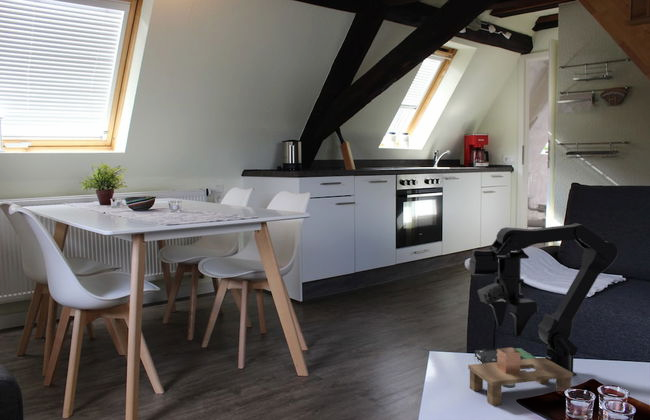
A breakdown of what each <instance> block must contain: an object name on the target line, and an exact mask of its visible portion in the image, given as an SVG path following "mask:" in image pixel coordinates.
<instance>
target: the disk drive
mask: <svg viewBox="0 0 650 420" xmlns="http://www.w3.org/2000/svg"><path fill="white" fill-rule="evenodd" d="M513 348H514V349H515V350H517V351H519V352H521V353H520V360H523V359H533V358H537V357H536V356H535V355H533V354H531V353H530V352H527V351H525V350H524V349H523V347H522V348H521V347H520V348H519V347H518V348H515V347H513ZM498 349H499V348H495V349H494V348H493V349H492V348H490V349H477V350H474V358H475V357H477V359H478V360H477V359H476V360H477V361H479V360H480V361H481V362H482V363H492V362H497V351H498ZM480 361H479V362H480ZM481 362H480V363H481ZM482 363H481V364H482Z"/></svg>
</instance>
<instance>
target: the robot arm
mask: <svg viewBox="0 0 650 420" xmlns="http://www.w3.org/2000/svg"><path fill="white" fill-rule="evenodd" d="M573 240H574V241H575V242H576V243H577V244H578V245H579V246H580V247H581V248H583V249H584V250H583V253H582V256H581V257H582V258H581V266H580V269H579V270H578V272H577V274H576V276H575V277H574V279H573V281H572V282H571V285H570V286H569V288H568V289H567V291H566V293H565V295H564V297H563V299H562V300H561V302H560V304H559V306H558V307H557V309H556V310H555V312H553V313H552V314H551V315H549V314H548V313H545V314H544V315H543V318H542V321H541V322H540V323H539V324H537V327H539V328H538V331H537V332H538V333H537V334H538V336H539V339H540V340H541V341H543V342H544V345H545V347H547V348H549V349H546V355H545V357H544V358H546V359H548V360H550V361H552V362H553V363H555V364H557V365H559V366H561V367H563V368H564V369H566V370H568V371H570V372H572V373H573V377H574V376H578V375H577V372H576V371H574V356H576V354H577V351H578V347H577V346H576V345H575V344H573V342H572V341H571V340H570V338H571V335H572V333H573V332H572V331H573V321H574V318H575V317H576V316H577V314H578V312H579V310H580V308H581V307H582V305H583V303H584V302H585V299H586V298H587V297H588V295H589V293H590V291H591V289H592V288H593V286H594V283H595V282H596V281H597V279H598V277H599V275H601V274H602V273H603V272H605V271H606V270H607V269H608V268H610V266H612V264H613V263H614V261H616V259H617V258H618V254H619V251H618V249H617V246H616V245H615V244H614V243H612V242H609V241H606V240H605V239H603V238H602V237H600V236H599V235H597V234H595V233H594V232H593V231H592V230H590V229H589V228H588V227H587V226H585V225H583V224H580V223H572V224H567V225H560V226H559V225H556V226H548V227H540V228H520V227H519V228H518V227H503V228H501V229H499V231H498V232H497V234H496V239H495V240H494V241H493V242H492V244H491V245H490V246H489V248H488V249H484V250H483V249H482V250H480V249H472V250H471V252H472V253H471V256H470V259H469V263H468V264H469V266H468V267H469V271H470V273H471V276H494V275H495V274H496V273H497V272H498V273H497V274H498V276H496V277H494V280H493V283H491V284H488V285H486V286H484V287H482V288H480V289H478V290H477V294H478V297H479V301H480V302H481V303H485V304H486V305H489V306H491V309H492V312H493V315H494V318H495V322H496V326H497V327H502V326H503V323H504V320H505V317H506V312H507V309H508V305H509V309H510V311H509V314H510V315H511V316H512V317H513V322H514V323H513V324H514V333H515V335H514V336H515V337H520V336H521V335H522V333H523V331H524V329H525V327H526V325H527V324H528V322H529V321H530V319H531V318H532V317H533V315H535V314H536V313H539V305H538V303H537V302H536V301H534V300H532V299H530V298H524V294H523V293H521V284H524V282H525V281H524V280H525V279H524V278H521V270H522V269H521V266H522V265H521V263H522V261H521V259H522V260H523V259H524V260H525V259H529V258H530V257H529V255H528V254H527V253H526V252H525V251H524V249H527V248H530V247H531V246H535V245H538V244H546V243H547V244H548V243H555V242H565V241H573Z"/></svg>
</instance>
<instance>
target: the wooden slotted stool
mask: <svg viewBox="0 0 650 420" xmlns="http://www.w3.org/2000/svg"><path fill="white" fill-rule="evenodd" d="M467 367H468V368H467V369H468V370H469V388H470V390H472V391H473V392H479V391H484V384H483V383H484V382H486V383H487V384H486V385H487V387H486V388H487V390H486V391H487V393H486V396H487V397H486V399H487V400H486V402H487V403H488V404H489V405H491V406H499V405H502V388H503V386H502V385H505V384H514V383H515V384H522V383H531V382H537V383H538V384H540V385H541V384H543V385H544V384H549V382H550V381H549V380H555V381H556V382H555V392H556V391H564V390H565V389H568V388H571V389H572V387H571V385H572V384H571V383H572V378H573V377H574V376H573V373H572V372H570V371H568V370H566V369H564V368H563V367H561V366H559V365H557V364H555V363H553V362H552V361H550V360H548V359H546V358H545V357H536V358H533V359H523V360H520V372H515V373H504V372H503V371H501V370H500V369H498V368H497V362H492V363H474V364H467ZM526 369H533V370H530V371H529V370H528V371H527V370H526Z"/></svg>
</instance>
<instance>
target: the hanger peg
mask: <svg viewBox="0 0 650 420" xmlns="http://www.w3.org/2000/svg"><path fill="white" fill-rule="evenodd" d="M514 348H515V347H504V348H497V349H498V351H497V368H498V369H500V370H501V371H503V372H504V373H515V372H520V371H521V369H520V353H521V352H519V351H517V350H515V349H516V348H515V349H514ZM515 387H516V383H514V384H505V385H502V388H507V389H513V388H515Z"/></svg>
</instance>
